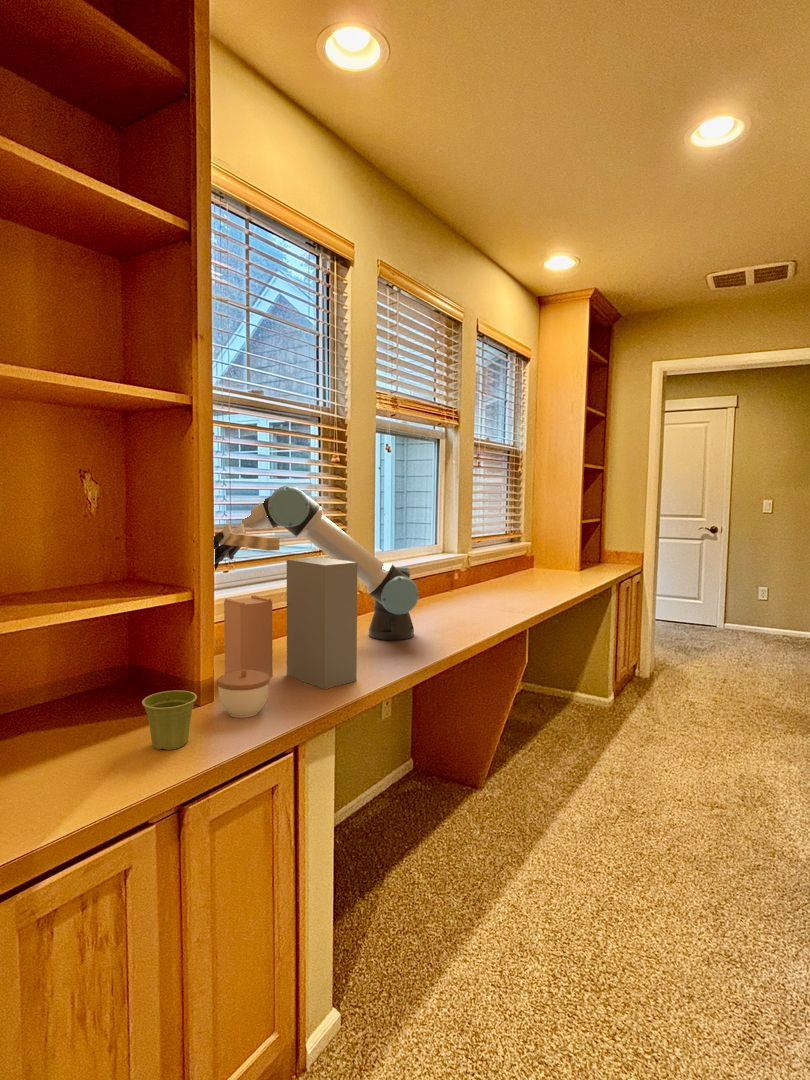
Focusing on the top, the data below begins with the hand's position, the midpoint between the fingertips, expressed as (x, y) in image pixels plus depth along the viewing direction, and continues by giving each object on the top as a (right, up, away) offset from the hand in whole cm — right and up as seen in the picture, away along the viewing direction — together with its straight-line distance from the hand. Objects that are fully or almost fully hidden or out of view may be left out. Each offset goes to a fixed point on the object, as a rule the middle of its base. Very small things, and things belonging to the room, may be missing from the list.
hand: (236, 528), depth 153 cm
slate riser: (+22, -38, -1) cm, 44 cm away
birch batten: (+3, -5, -3) cm, 6 cm away
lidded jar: (+9, -40, -26) cm, 49 cm away
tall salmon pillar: (+3, -38, -1) cm, 38 cm away
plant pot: (0, -41, -42) cm, 59 cm away
